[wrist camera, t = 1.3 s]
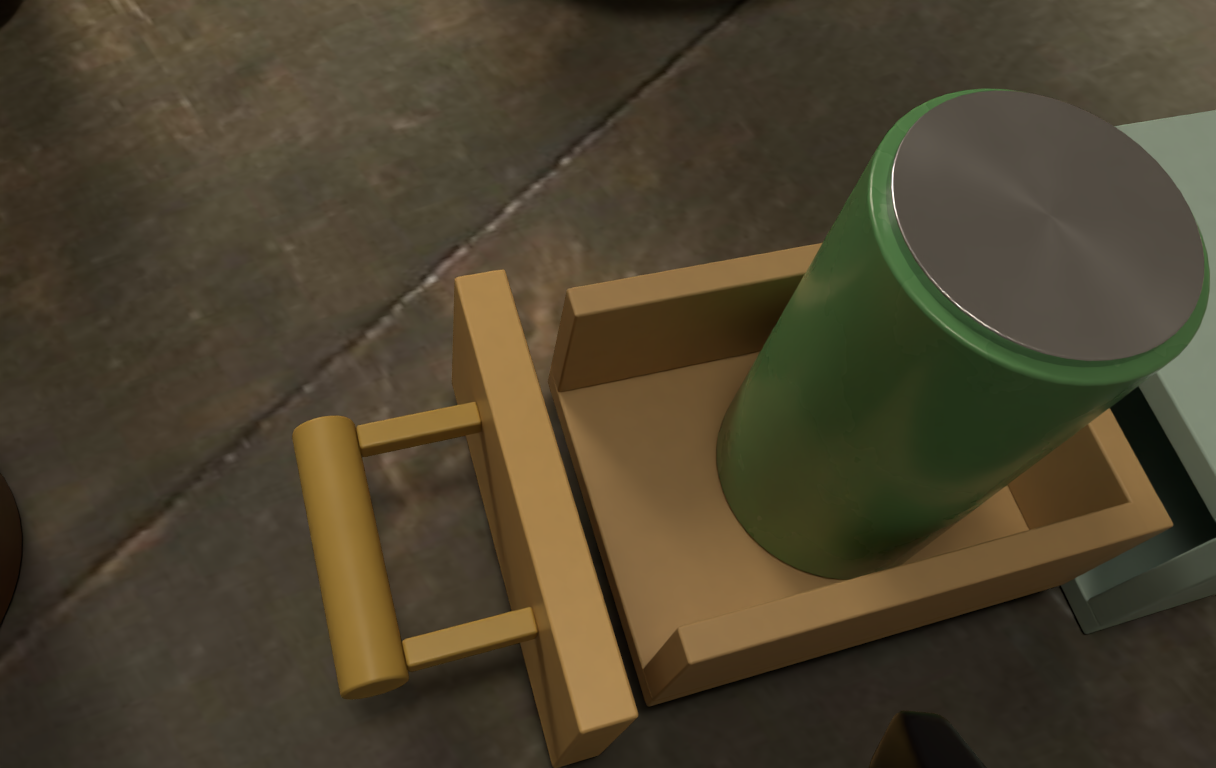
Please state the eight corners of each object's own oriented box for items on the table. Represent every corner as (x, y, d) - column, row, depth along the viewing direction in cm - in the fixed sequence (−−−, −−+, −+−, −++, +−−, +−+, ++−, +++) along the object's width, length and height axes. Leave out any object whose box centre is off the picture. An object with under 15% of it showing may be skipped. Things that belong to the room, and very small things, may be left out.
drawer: (371, 824, 23) (355, 801, 18) (293, 412, 27) (264, 308, 23) (1070, 612, 28) (1197, 551, 23) (913, 290, 32) (994, 183, 27)
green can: (979, 547, 27) (1291, 337, 17) (764, 607, 26) (971, 412, 16) (885, 345, 30) (1111, 58, 20) (684, 388, 28) (819, 100, 18)
